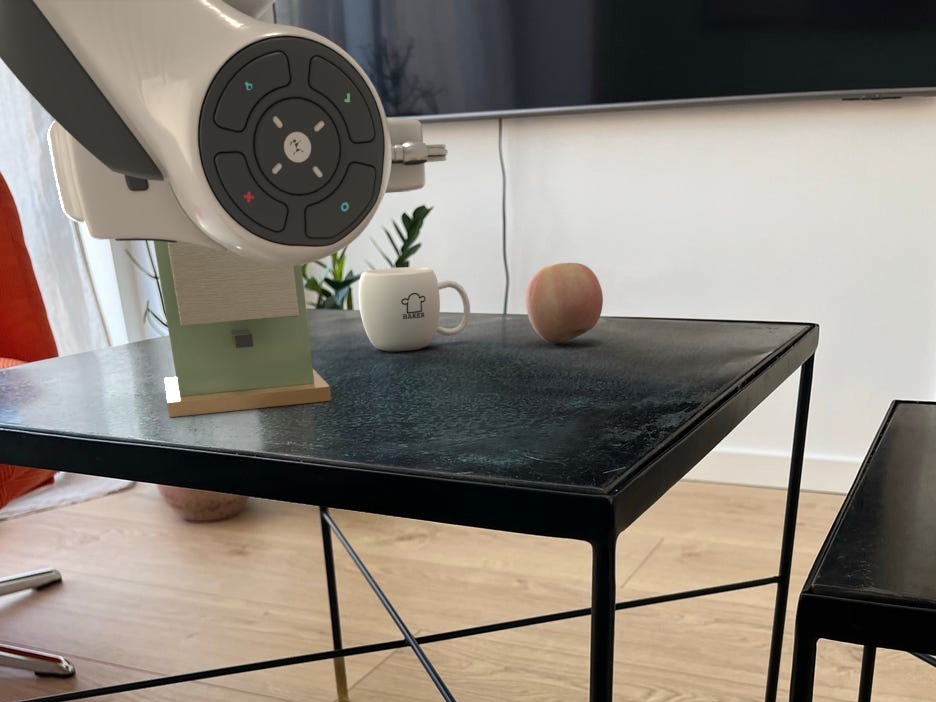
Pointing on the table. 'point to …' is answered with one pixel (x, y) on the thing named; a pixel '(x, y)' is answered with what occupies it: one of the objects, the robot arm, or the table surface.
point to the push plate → (229, 286)
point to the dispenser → (238, 358)
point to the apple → (564, 301)
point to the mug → (405, 307)
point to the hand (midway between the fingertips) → (235, 167)
